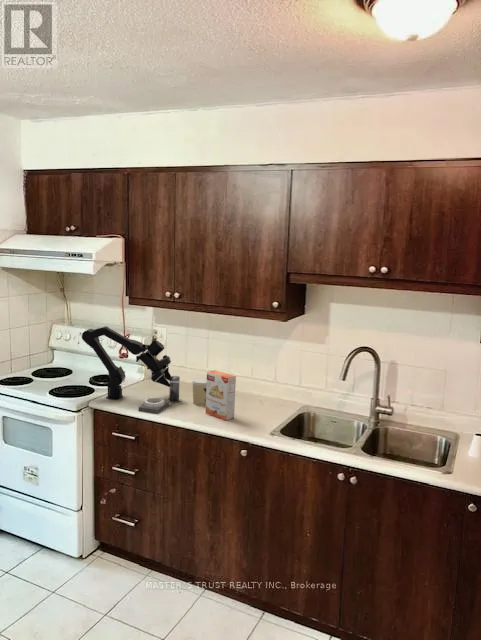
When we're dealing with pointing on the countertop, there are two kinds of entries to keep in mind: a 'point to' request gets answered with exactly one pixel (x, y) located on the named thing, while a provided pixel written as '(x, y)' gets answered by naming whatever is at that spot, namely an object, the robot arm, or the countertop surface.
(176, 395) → the lens
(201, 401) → the coffee cup
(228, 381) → the cracker box
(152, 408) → the camera body
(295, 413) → the countertop surface
